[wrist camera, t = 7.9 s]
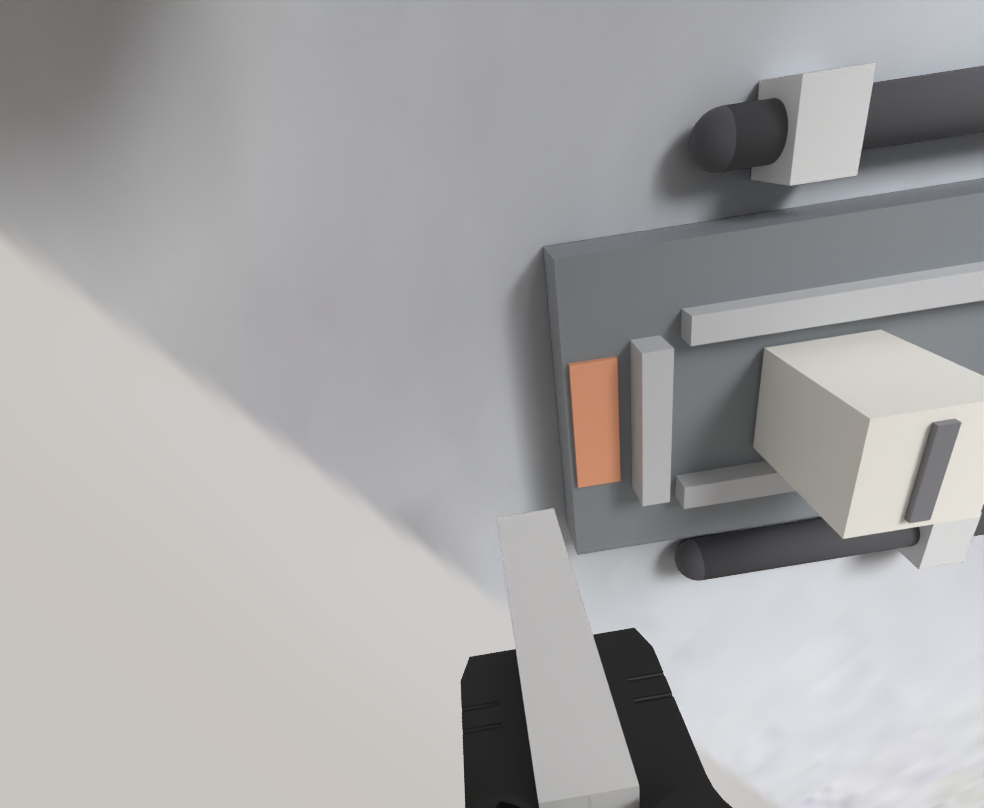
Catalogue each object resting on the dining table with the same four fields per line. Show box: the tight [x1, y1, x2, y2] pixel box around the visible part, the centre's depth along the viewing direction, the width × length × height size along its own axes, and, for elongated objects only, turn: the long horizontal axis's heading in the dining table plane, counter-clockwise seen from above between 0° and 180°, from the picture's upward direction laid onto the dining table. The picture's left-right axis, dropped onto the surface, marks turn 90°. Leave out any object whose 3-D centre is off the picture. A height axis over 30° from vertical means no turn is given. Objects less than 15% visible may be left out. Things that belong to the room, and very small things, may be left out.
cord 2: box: [675, 504, 984, 580], centre depth 24 cm, size 3×15×2 cm, turn 98°
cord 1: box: [689, 62, 984, 186], centre depth 16 cm, size 3×15×2 cm, turn 98°
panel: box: [543, 178, 984, 555], centre depth 19 cm, size 12×24×3 cm, turn 98°
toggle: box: [753, 329, 984, 539], centre depth 16 cm, size 4×4×5 cm
